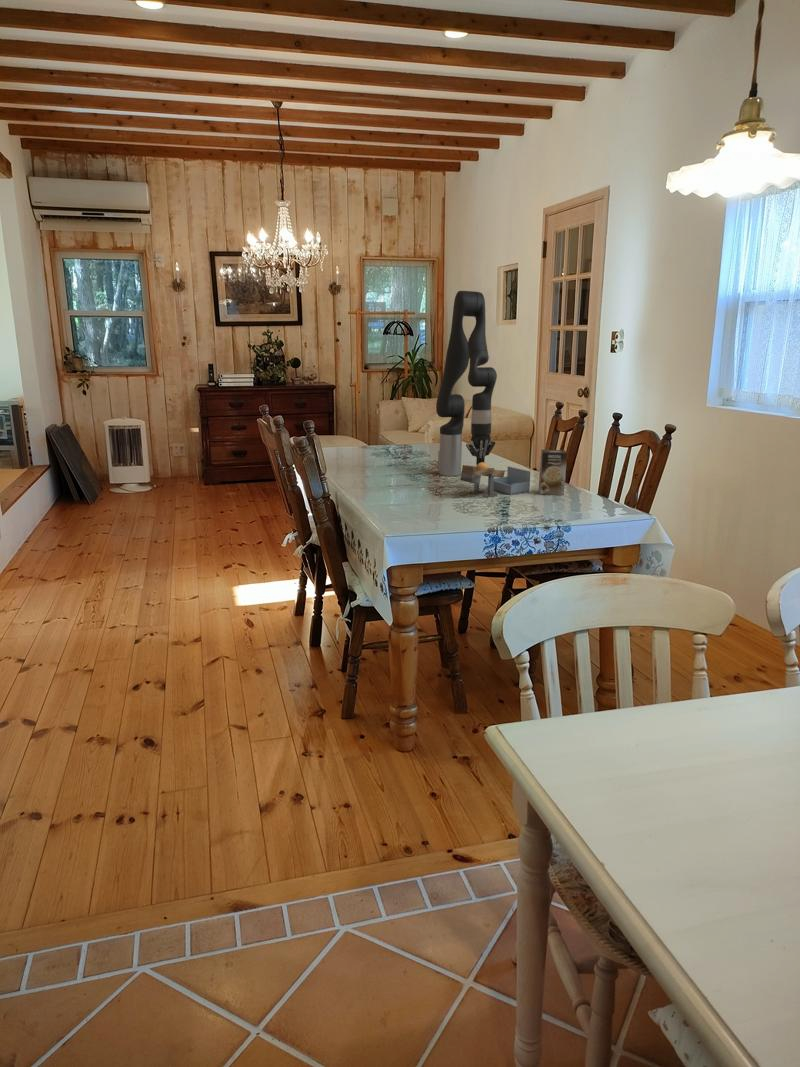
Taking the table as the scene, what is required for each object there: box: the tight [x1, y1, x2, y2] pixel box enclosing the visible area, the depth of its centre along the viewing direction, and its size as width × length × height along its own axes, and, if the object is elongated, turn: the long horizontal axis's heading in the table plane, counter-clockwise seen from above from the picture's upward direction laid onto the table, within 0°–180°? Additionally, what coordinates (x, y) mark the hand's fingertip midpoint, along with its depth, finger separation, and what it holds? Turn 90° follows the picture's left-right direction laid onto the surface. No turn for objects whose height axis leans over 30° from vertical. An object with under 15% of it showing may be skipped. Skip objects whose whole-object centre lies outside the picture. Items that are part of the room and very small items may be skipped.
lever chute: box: [459, 464, 506, 485], centre depth 279 cm, size 15×15×6 cm
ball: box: [476, 462, 488, 469], centre depth 274 cm, size 4×4×4 cm
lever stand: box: [469, 473, 498, 499], centre depth 276 cm, size 5×11×9 cm, turn 33°
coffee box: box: [538, 449, 568, 496], centre depth 278 cm, size 9×6×16 cm
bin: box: [493, 465, 531, 496], centre depth 283 cm, size 9×12×8 cm
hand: (480, 467), depth 285 cm, fingers closed
